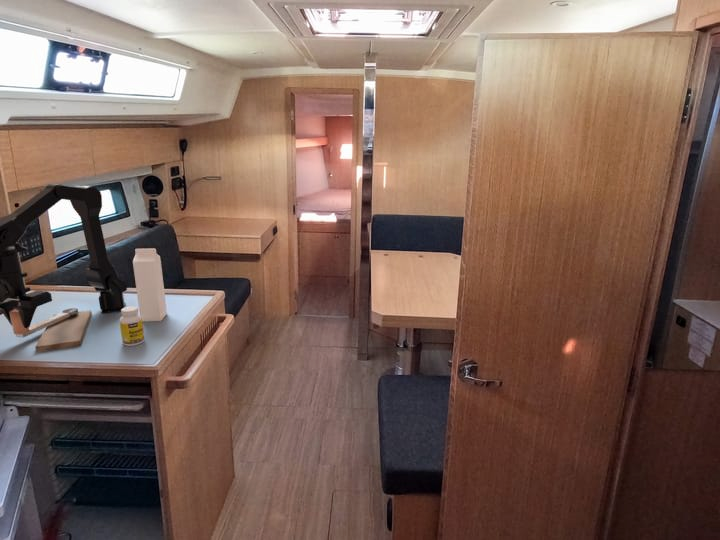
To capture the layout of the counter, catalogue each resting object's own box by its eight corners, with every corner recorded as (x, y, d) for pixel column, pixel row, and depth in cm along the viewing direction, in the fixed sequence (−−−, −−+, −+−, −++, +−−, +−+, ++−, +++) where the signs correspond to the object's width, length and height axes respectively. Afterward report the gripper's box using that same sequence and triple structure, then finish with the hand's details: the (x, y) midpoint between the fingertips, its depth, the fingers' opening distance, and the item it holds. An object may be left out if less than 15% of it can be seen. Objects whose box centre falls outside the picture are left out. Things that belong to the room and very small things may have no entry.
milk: (161, 321, 139) (152, 250, 133) (140, 321, 139) (130, 251, 133) (167, 313, 145) (159, 246, 139) (147, 314, 145) (138, 246, 138)
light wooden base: (91, 314, 144) (91, 310, 144) (80, 345, 123) (79, 340, 122) (54, 319, 140) (53, 314, 140) (36, 352, 119) (35, 346, 119)
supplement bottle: (130, 348, 122) (125, 313, 119) (118, 343, 124) (113, 309, 122) (149, 341, 126) (144, 307, 123) (137, 336, 129) (132, 303, 126)
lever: (81, 312, 140) (77, 290, 138) (22, 339, 122) (17, 313, 120) (70, 311, 141) (66, 289, 139) (10, 337, 123) (5, 312, 121)
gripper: (-53, 277, 114) (-38, 335, 118) (7, 283, 109) (20, 343, 114) (-9, 266, 124) (4, 319, 128) (47, 270, 120) (59, 325, 124)
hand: (20, 327), depth 123 cm, fingers open, 4 cm apart
